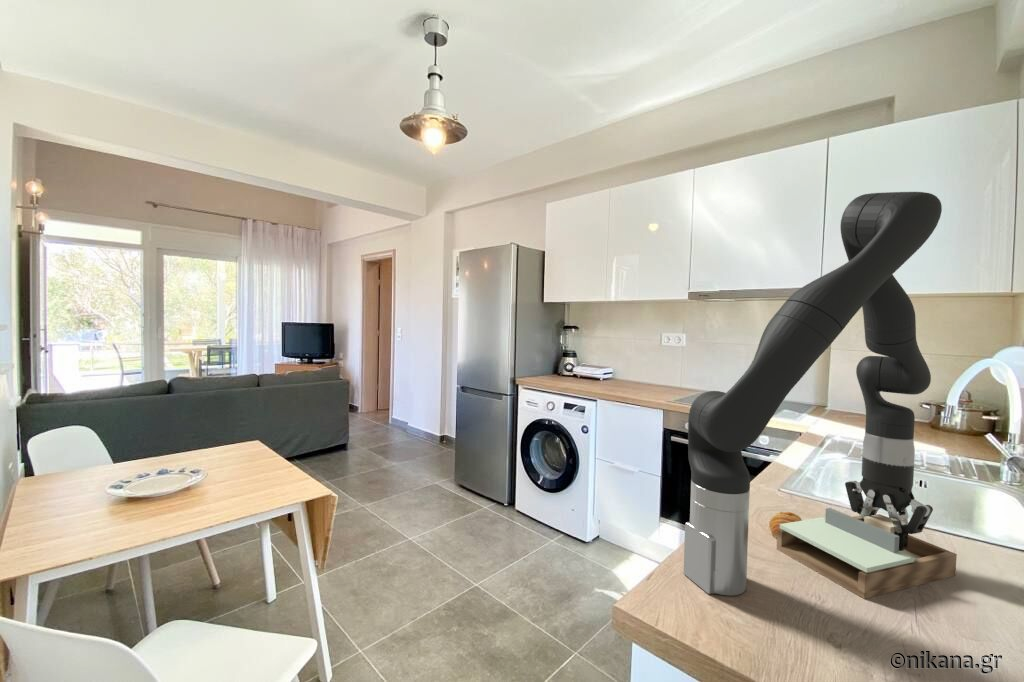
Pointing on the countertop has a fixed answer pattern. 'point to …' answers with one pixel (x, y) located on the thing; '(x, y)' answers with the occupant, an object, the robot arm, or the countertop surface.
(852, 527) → the lid
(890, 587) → the wooden box
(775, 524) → the pastry
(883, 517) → the block
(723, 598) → the countertop surface
